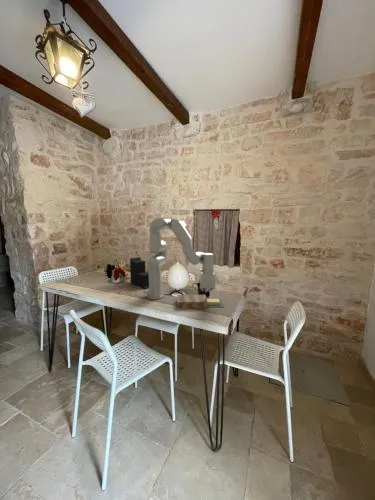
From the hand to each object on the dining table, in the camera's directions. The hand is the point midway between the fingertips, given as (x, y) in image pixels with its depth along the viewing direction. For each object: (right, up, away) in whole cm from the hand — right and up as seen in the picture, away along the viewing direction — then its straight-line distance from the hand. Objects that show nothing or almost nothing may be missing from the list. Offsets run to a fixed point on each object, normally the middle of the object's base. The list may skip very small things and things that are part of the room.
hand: (207, 297), depth 151 cm
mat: (+5, -5, +1) cm, 7 cm away
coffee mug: (-3, -2, +20) cm, 21 cm away
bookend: (-54, +1, +43) cm, 69 cm away
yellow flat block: (+4, -4, +1) cm, 6 cm away
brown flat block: (-11, -5, 0) cm, 12 cm away
